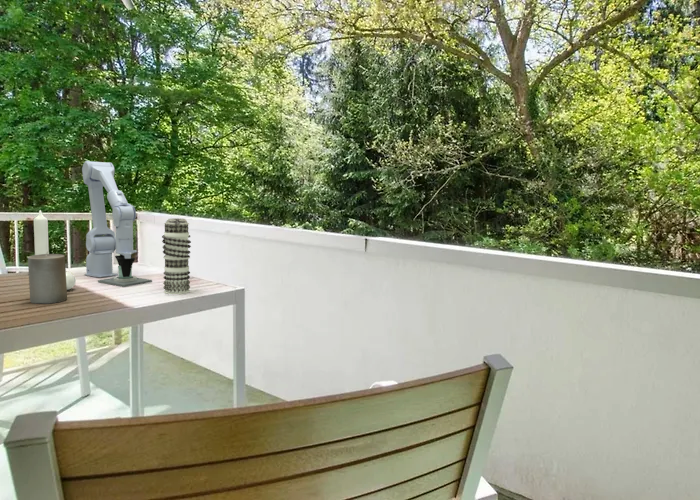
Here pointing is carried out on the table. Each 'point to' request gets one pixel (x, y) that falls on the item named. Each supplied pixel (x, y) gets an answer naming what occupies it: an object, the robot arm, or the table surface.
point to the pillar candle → (47, 278)
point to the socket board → (124, 281)
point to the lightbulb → (70, 280)
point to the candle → (41, 234)
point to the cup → (122, 275)
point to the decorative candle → (176, 256)
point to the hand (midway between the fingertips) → (125, 275)
